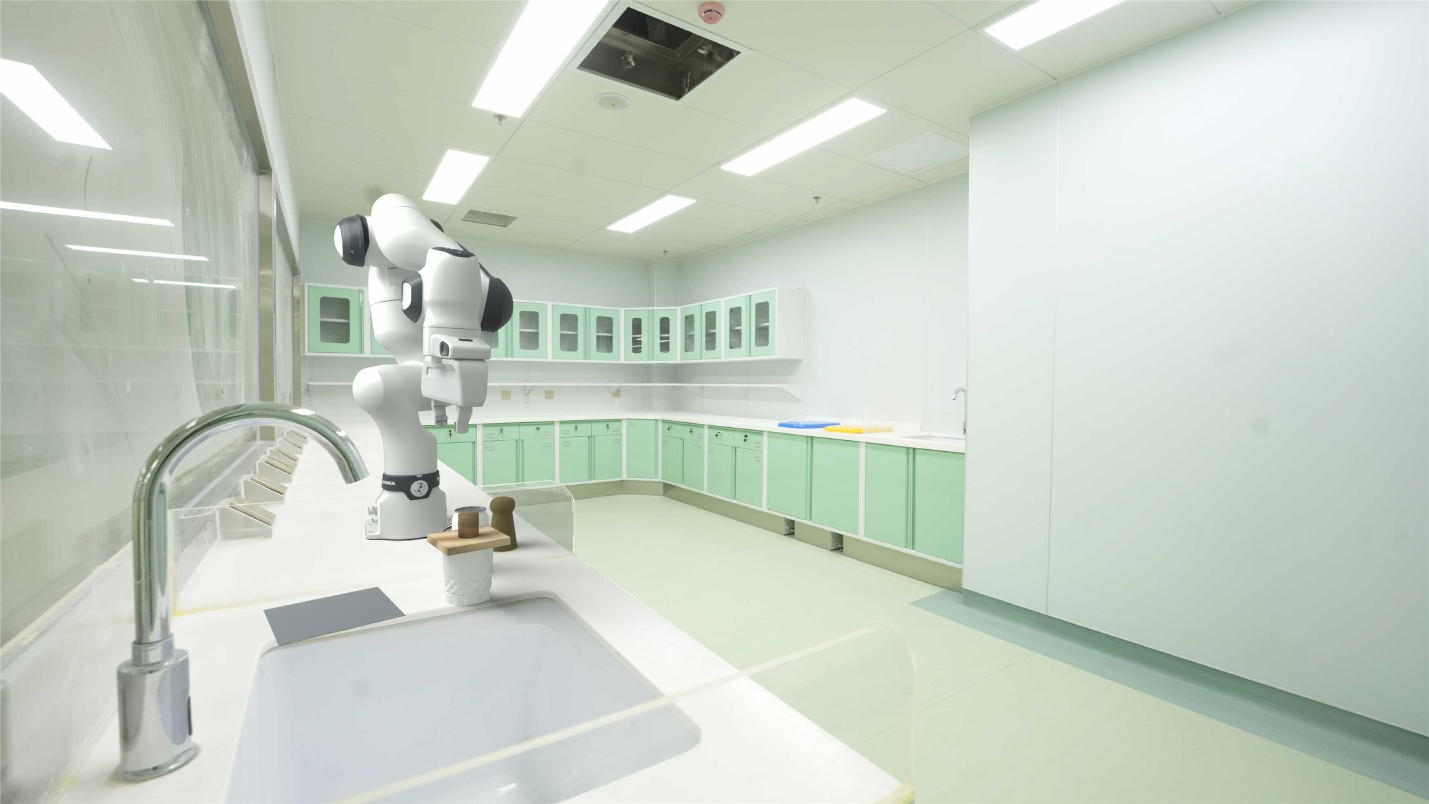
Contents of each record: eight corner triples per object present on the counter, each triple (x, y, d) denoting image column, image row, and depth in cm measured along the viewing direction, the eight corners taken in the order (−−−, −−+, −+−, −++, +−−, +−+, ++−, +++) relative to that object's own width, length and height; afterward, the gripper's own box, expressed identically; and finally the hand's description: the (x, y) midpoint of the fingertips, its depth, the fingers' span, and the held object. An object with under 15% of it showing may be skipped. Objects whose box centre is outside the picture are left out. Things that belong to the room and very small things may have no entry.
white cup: (501, 603, 102) (501, 543, 101) (453, 616, 97) (452, 553, 96) (482, 590, 108) (482, 533, 107) (435, 601, 102) (435, 542, 102)
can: (476, 578, 113) (475, 514, 113) (444, 575, 115) (444, 512, 114) (495, 567, 120) (495, 506, 119) (465, 564, 121) (465, 504, 120)
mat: (263, 614, 96) (263, 609, 96) (377, 590, 106) (377, 586, 106) (279, 651, 84) (278, 645, 84) (405, 620, 95) (405, 614, 95)
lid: (427, 541, 102) (426, 512, 102) (487, 531, 109) (486, 504, 108) (447, 555, 95) (447, 525, 94) (510, 544, 101) (510, 515, 101)
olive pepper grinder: (493, 553, 128) (493, 501, 128) (483, 546, 133) (483, 496, 132) (521, 548, 132) (521, 497, 132) (511, 542, 137) (511, 493, 136)
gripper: (412, 344, 108) (411, 423, 109) (454, 347, 93) (453, 438, 94) (449, 346, 112) (447, 421, 113) (495, 348, 97) (493, 436, 98)
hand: (450, 429), depth 103 cm, fingers open, 8 cm apart
